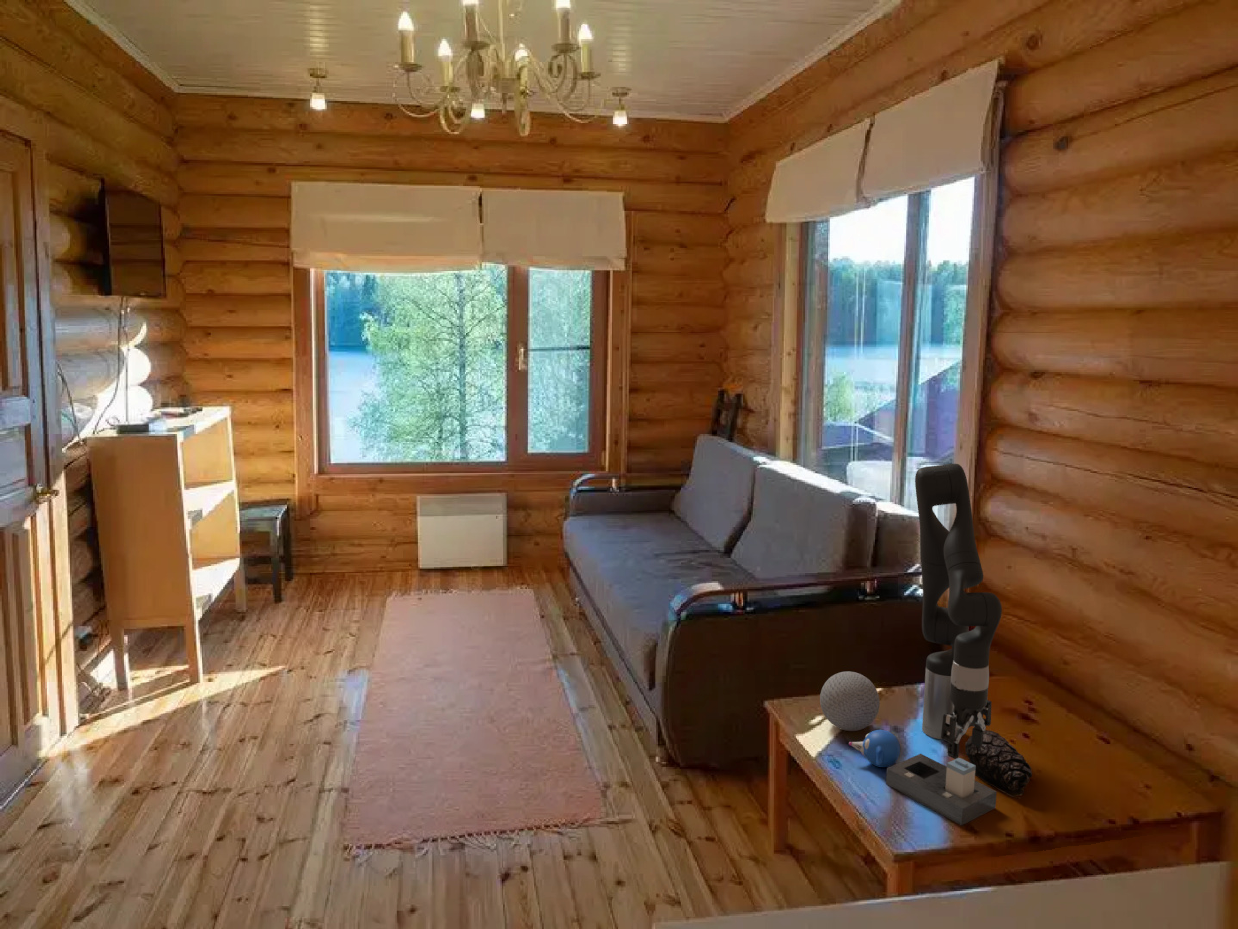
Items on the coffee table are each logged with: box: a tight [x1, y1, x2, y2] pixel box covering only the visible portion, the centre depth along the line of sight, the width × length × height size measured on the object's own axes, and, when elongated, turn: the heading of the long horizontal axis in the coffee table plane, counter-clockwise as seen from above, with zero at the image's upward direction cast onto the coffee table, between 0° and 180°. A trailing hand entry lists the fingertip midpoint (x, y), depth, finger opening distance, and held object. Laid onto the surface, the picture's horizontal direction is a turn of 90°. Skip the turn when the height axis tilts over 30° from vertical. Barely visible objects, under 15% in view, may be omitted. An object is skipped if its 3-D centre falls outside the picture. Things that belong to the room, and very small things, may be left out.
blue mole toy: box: [848, 729, 901, 768], centre depth 214 cm, size 12×12×8 cm
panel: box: [885, 753, 998, 827], centre depth 200 cm, size 12×20×4 cm, turn 34°
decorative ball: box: [819, 671, 881, 732], centre depth 231 cm, size 15×15×15 cm
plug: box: [945, 757, 976, 799], centre depth 195 cm, size 4×4×11 cm
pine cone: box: [964, 729, 1033, 799], centre depth 206 cm, size 10×18×10 cm, turn 24°
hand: (964, 751), depth 194 cm, fingers open, 8 cm apart
